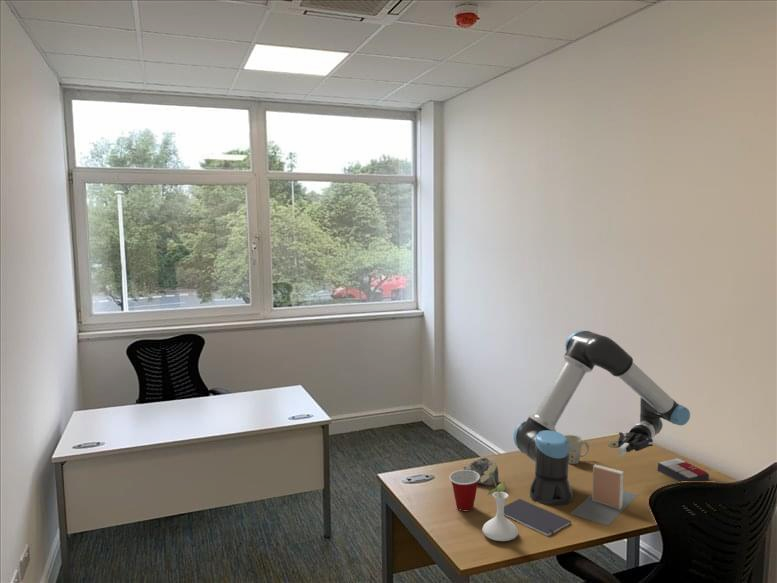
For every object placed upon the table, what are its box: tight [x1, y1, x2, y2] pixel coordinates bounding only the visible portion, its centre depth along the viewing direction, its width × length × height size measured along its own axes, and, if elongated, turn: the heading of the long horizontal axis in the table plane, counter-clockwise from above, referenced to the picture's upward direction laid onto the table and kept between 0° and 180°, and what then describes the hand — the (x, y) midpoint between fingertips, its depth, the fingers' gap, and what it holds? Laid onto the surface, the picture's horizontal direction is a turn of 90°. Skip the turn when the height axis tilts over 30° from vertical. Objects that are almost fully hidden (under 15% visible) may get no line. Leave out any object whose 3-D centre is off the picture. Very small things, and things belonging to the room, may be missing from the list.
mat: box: [570, 490, 638, 527], centre depth 209 cm, size 13×29×1 cm, turn 139°
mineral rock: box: [463, 457, 500, 486], centre depth 229 cm, size 13×11×10 cm
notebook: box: [504, 498, 572, 537], centre depth 200 cm, size 13×2×21 cm
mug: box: [564, 434, 590, 465], centre depth 248 cm, size 8×13×10 cm, turn 107°
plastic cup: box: [448, 469, 480, 511], centre depth 207 cm, size 11×11×12 cm
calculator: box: [657, 457, 710, 483], centre depth 232 cm, size 11×4×15 cm
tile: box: [591, 463, 624, 509], centre depth 208 cm, size 10×2×13 cm, turn 49°
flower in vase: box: [480, 461, 519, 542], centre depth 188 cm, size 13×11×25 cm
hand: (620, 451), depth 215 cm, fingers closed
